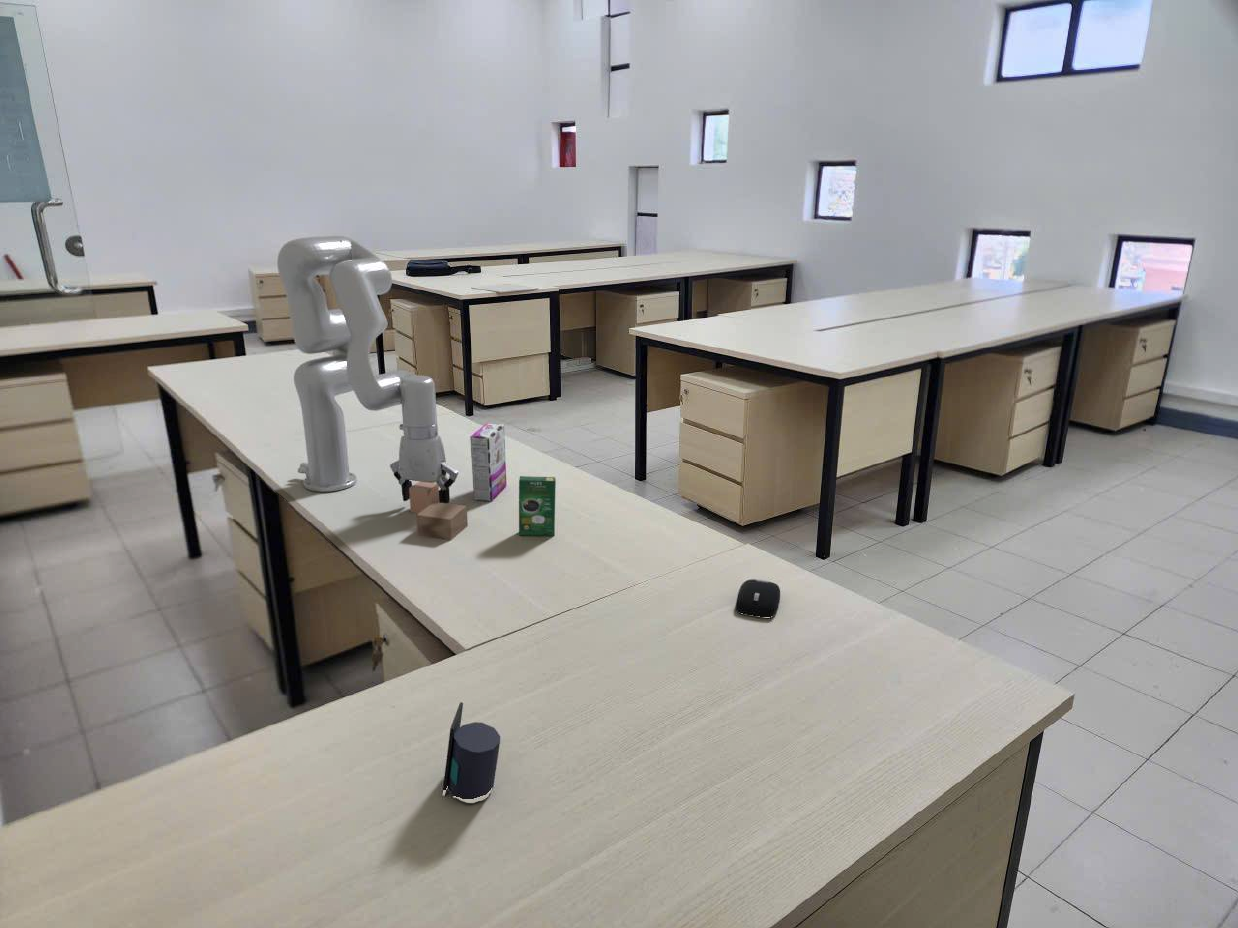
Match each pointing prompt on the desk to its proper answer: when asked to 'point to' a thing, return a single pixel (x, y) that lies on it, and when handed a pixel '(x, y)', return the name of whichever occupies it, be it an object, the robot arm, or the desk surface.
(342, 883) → the desk surface
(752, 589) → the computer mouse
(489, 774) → the speaker
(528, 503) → the coffee box
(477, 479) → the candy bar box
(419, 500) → the peach-colored cube
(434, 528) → the walnut block
